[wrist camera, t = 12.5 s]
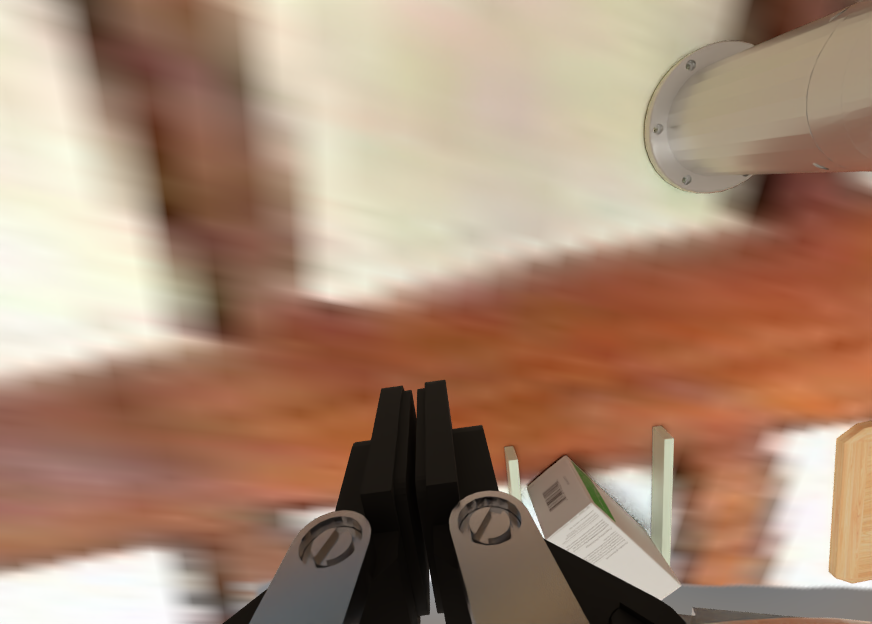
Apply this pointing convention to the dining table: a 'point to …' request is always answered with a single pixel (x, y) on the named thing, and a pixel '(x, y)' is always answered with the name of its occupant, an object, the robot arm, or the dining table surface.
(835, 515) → the cutting board
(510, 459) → the open-sided frame
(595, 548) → the skincare box
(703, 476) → the dining table surface
